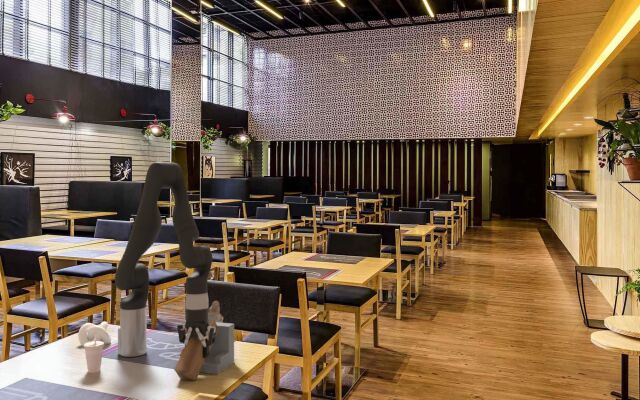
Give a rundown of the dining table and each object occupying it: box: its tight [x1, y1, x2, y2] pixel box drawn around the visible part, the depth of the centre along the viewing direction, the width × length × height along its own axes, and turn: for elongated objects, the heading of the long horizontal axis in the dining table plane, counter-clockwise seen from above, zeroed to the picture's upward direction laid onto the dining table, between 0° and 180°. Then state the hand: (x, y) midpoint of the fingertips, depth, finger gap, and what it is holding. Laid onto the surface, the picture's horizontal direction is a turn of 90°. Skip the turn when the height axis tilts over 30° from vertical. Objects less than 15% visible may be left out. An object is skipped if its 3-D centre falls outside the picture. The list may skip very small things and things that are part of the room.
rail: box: [173, 319, 219, 382], centre depth 169 cm, size 6×20×6 cm
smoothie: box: [83, 330, 105, 374], centre depth 170 cm, size 6×6×14 cm
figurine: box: [208, 300, 224, 323], centre depth 199 cm, size 9×8×20 cm
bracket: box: [200, 322, 235, 375], centre depth 176 cm, size 13×12×14 cm
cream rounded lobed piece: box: [77, 321, 112, 347], centre depth 199 cm, size 11×12×9 cm
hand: (197, 356), depth 168 cm, fingers closed on rail, 5 cm apart
